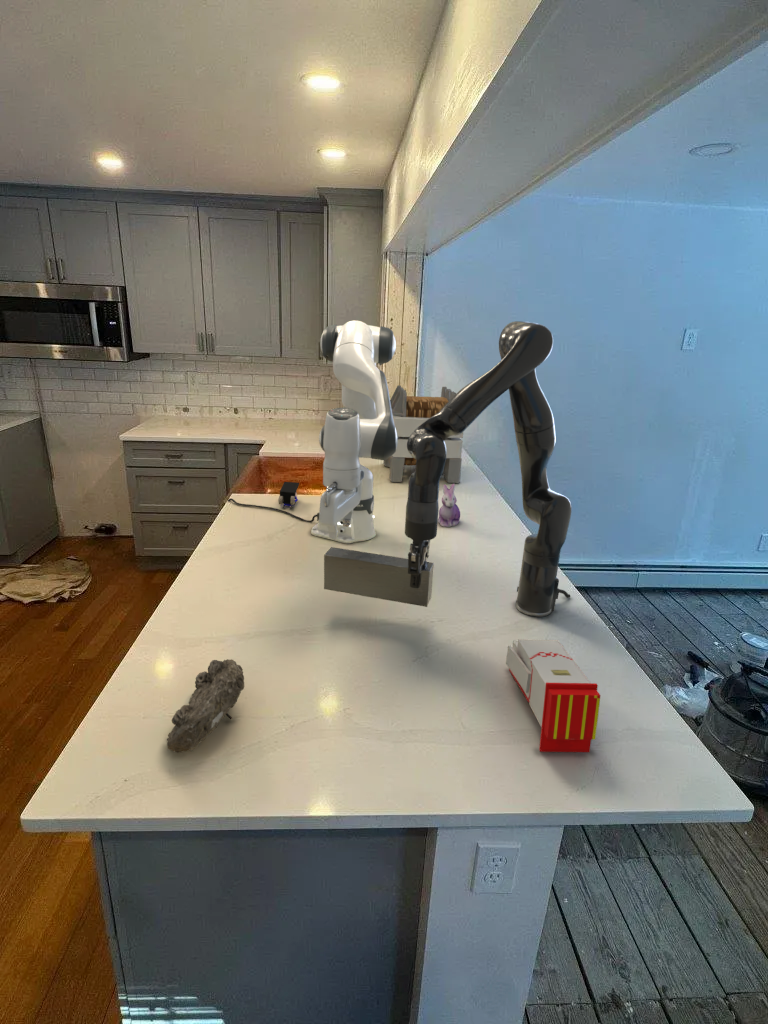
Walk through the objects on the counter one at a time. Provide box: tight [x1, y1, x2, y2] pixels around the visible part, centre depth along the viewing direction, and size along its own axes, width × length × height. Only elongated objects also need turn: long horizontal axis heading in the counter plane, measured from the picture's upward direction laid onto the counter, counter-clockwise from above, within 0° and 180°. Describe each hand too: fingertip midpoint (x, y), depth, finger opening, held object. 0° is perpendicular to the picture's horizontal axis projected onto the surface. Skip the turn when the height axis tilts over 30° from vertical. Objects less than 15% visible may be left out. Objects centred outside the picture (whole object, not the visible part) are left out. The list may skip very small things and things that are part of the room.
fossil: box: [166, 658, 245, 754], centre depth 106 cm, size 22×10×15 cm
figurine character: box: [278, 481, 300, 510], centre depth 223 cm, size 7×8×15 cm
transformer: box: [383, 384, 465, 484], centre depth 268 cm, size 34×33×41 cm
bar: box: [323, 546, 435, 608], centre depth 140 cm, size 26×5×10 cm, turn 74°
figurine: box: [438, 483, 461, 528], centre depth 209 cm, size 9×10×15 cm
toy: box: [505, 638, 602, 753], centre depth 114 cm, size 12×13×30 cm
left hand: (340, 531), depth 140 cm, fingers open, 8 cm apart
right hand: (417, 581), depth 137 cm, fingers closed on bar, 5 cm apart
